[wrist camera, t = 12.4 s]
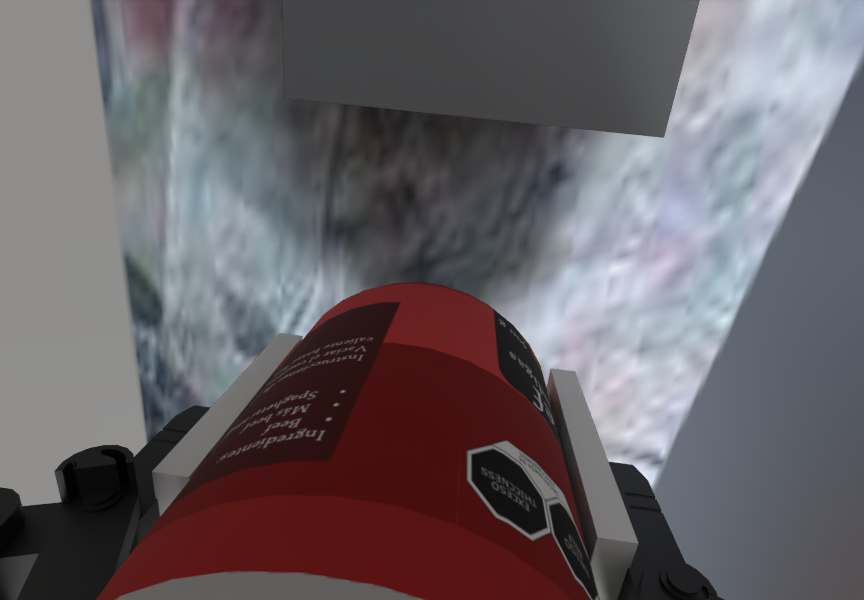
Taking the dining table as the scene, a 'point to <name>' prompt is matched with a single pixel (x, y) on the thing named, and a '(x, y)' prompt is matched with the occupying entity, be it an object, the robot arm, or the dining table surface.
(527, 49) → the breaker housing
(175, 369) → the dining table surface
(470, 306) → the canned food
